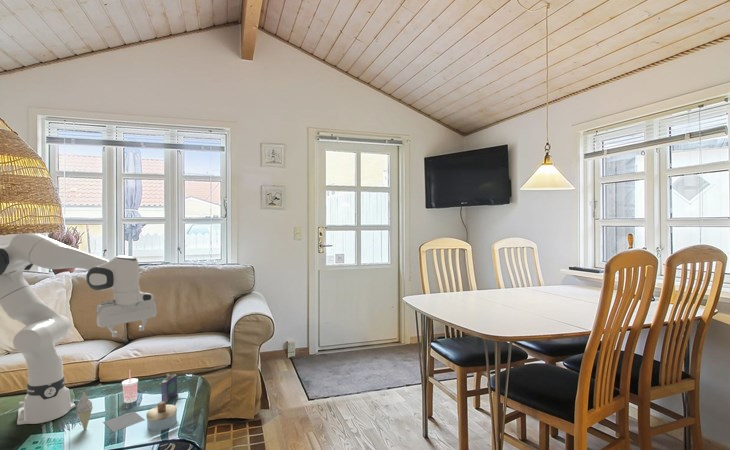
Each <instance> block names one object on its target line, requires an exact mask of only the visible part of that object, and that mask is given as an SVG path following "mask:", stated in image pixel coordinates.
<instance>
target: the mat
mask: <svg viewBox="0 0 730 450" xmlns="http://www.w3.org/2000/svg"><path fill="white" fill-rule="evenodd" d="M143 421H145V419H144V418H143V417H142V416H141V415H139V414H138V413H137V412H136V411H134V410H133V411H131V412H127V413H124V414H122V415H119V416H116V417H114V418H111V419H108V420H105V421H103V424H104V425H105V426H106V427H108V428H109V429H110V430H111V431H112V432H113V433H114V432H115V433H116V432H117V431H120V430H122V429H125V428H127V427H130V426H133V425H135V424H138V423H141V422H143Z"/></svg>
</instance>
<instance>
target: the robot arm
mask: <svg viewBox="0 0 730 450" xmlns="http://www.w3.org/2000/svg"><path fill="white" fill-rule="evenodd" d="M33 266H37V267H39V268H43V269H47V270H61V269H63V270H64V269H84V270H87V273H86V278H85V279H86V284H87V285H88V286H89V288H90V289H92V290H94V291H105V290H111V289H112V290H113V291H112V292H113V299H112V300H107V301H101V302H100V303H98V304H97V306H96V308H95V311H96V315H97V316H96V325H97V326H98V327H100V328H107V329H108V330H109V331H110V333H111V337H112V338H116V337H118V333H119V332H118V331H117V330H114V329H115V326H117V325H123V324H127V323H133V322H138V321H141V322H142V323H140V325H139V326H138V331H139V332H143V331H145V326H146V325H147V322H148V319H152V318H156V316H157V314H158V310H157V303H156V302H155V300H154V299H155V296H154V295H155V294H152V293H149V292H145V291H141V287H140V279H141V277H140V276H141V275H140V274H141V273H140V265H139V261H138V259H137V258H136V257H135V256H132V255H117V256H114V257H113V258H112V259H111V260H110V259H107V258H104V257H102V256H99V255H96V254H92V253H90V252H87V251H83V250H80V249H78V248H75V247H73V246H70V245H67V244H65V243H62V242H61V241H58V240H55V239H53V238H51V237H48V236H45V235H42V234H38V233H35V234H19V233H17V234H16V235H14V236H13V237H12V238H11V240H10V242H8V243H3V244H1V245H0V307H1V308H2V309H3V311H4V312H5V313H6V314H7V316H8V317H9V319H12V320H15V321H18V322H20V323H22V324H23V325H25V326H24V327H23V328H22V329H20V330H19V331H18V332H17V333H16V334H15V335H14V336H13V340H12V344H13V347H14V349H15V350H16V351H17V352H18V353H20V354H22V356H23V358H24V360H25V363H26V368H27V384H26V395H25V397H24V400H23V401H19V402H18V404H19V405H18V407H19V408H18V412H17V420H16V425H19V426H21V425H27V424H28V425H29V424H31V425H35V424H42V423H48V422H51V421H53V420H56V419H59V418H61V417H63V416H64V415H66V414H67V413H69V412H70V411H71V410H73V409H74V408H75V407H76V404H75V403H74V402H71V401H72V400H71V393H70V391H71V390H70V389H69V388H68V387H66V379H65V376H64V365H63V364H64V363H63V361H64V360H63V358H62V356H60V355H58V353H57V350H56V347H55V346H56V343H58V342H60V341H61V340H62V339H64V338H65V337H66V336H67V335H68V333H70V331H71V329H72V322H71V320H70V319H69V318H68V317H67V316H65V315H63V314H59V313H58V312H56V311H55V310H54V309H52V308H51V307H49V305H47V304H46V303H45V302H43V300H42V299H41V298H40V297H39V295H38V294H37V292H36V291H35V290H34V289H33V287H31V285H30V284H29V282H28V281H27V280H26V279H25V277H24V274H23V273H24V271H29V270H31V268H32V267H33Z"/></svg>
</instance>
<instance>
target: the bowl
mask: <svg viewBox="0 0 730 450" xmlns="http://www.w3.org/2000/svg"><path fill="white" fill-rule="evenodd" d="M177 412H178V411H177ZM177 412H176V413H175V414H174V415H173V416H171V417H169V418H167V419H163V420H158V421H152V420H148V419H147V418H146V422H147V423H146V424H147V425H146V426H147V429H148V430H149V431H153V432H160V431H165V430H167V429H170V428H172V427H173V426H175V425H176V424H177V420H178V416H177V415H178V414H177Z"/></svg>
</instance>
